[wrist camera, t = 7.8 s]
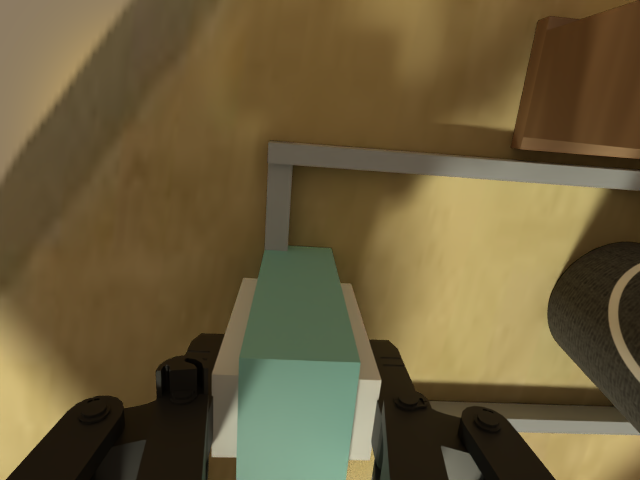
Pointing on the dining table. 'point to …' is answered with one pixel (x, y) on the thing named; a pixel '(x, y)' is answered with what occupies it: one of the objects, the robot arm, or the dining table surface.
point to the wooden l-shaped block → (583, 86)
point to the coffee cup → (603, 322)
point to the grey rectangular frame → (335, 328)
